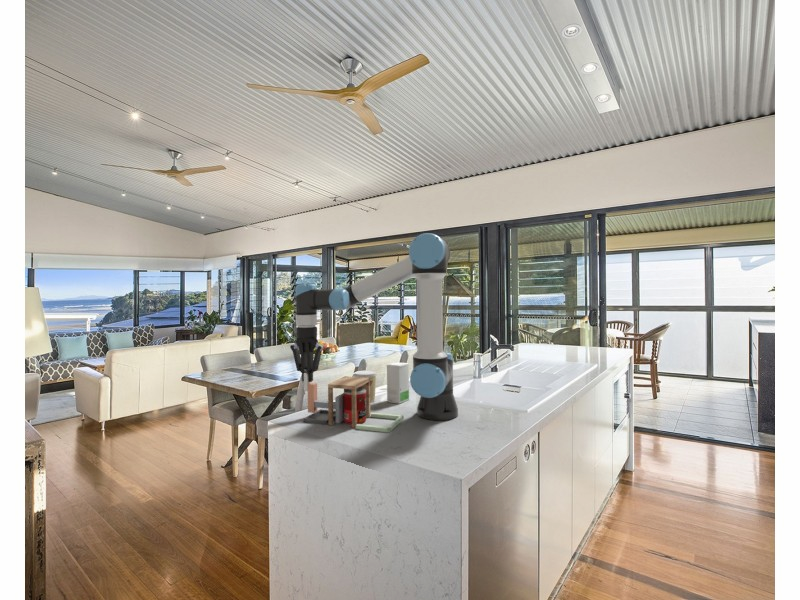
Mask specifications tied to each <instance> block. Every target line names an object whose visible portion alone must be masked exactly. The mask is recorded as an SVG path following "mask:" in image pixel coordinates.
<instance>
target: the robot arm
mask: <svg viewBox="0 0 800 600" xmlns="http://www.w3.org/2000/svg"><path fill="white" fill-rule="evenodd" d="M450 250H451V249H450V247H449V244H448V242H446V241H445V240H444V239H442V237H440V236H439V235H438V234H435V233H430V232H429V233H428V232H426V233H420V234H418V235H417V236H415V237H414V239H412V241H411V242H410V245H409V247H408V256H407V257H405V258H402V259H401V260H399V261H397V262H395V263H392V264H391V265H388V266H386V267H384V268H383V269H381V270H379V271H376V272H374V273H373V274H369V276H366V277H364V278H363V279H360V280H357V281H356V282H354V283H352V284H350V285H349V286H347V287H344V288H342V289H341V288H329V289H328V288H327V289H321V288H317V284H315V283H308V284H307V283H304V284H303V283H300V284H297V285H295V286H296V287H295V296H294V298H295V325H296V326H297V327H296V328H295V332H296V333H295V337H296V340H295V343H293V344H291V345H289V347H290V350H291V351H292V355H293V359H294V364H295V368H296V371H297V372H300V373H301V381H302V382H303V391H304V392H307V393H308V384H309V383H313V381H314V373H315V372H317V371H318V370H319V367H320V366H319V365H320V360H321V356H322V351H323V350H324V348H325V346H324V345H323V344H320V343H319V341H318V338H317V337H318V327H317V325H318V316H317V315H318V311H337V312H338V311H345V310H347V309H352V308H354V307H355V306H356V305H357V304H359V303H361V302H363V301H365V300H367V299H370V298H372V297H374V296H376V295H378V294H381V293H382V292H384V291H386V290H389V289H391V288H393V287H394V286H395V287H396V286H397V285H399V284H401V283H403V282H405V281H406V282H407V281H408V280H410V279H412V278H415V280H416V327H417V328H416V329H417V330H416V332H417V334H416V335H417V336H416V337H417V350H416V351H415V353H414V354H412V355H413V356H412V371H411V373H410V375H409V384H410V386H411V388H412V390H413V391H414V392H415V393H416V394H417V395H418V396H420V398H419V401H418V404H417V407H416V415H417V416H418V417H419V418H422V419H424V420H430V421H447V420H453V419H454V418H457V417H458V416H459V407H458V404H457V402H456V398H455V394H454V357H453V354H452V353H450V352H445V351H444V343H443V342H444V338H443V337H444V336H443V332H444V331H443V330H444V327H443V325H444V324H443V321H444V320H443V315H444V314H443V279H444V278H445V277H446V275H447V273H448V272H447V270H448V269H447V268H448V267H447V265H448V262H449V260H450V257H451V251H450ZM447 276H448V275H447Z"/></svg>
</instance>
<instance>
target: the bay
mask: <svg viewBox="0 0 800 600" xmlns="http://www.w3.org/2000/svg"><path fill="white" fill-rule="evenodd" d="M370 418H378V419H386V420H387V419H389V420H394V421H393V422H392V423H391V424H390V425H389V426H381V425H372V424H364V423H362V424H357V425H356V428H355V430H362V431H363V430H364V431H372V432H382V433H391V432H392V431H393V430H394V429H395V428H396V427H398V425H399V424H400V423H401V422H402V421H403V420H404V418H405V417H404V415H403V414H402V415H401V414H390V413H379V412H370Z"/></svg>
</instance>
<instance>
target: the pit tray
mask: <svg viewBox="0 0 800 600" xmlns="http://www.w3.org/2000/svg"><path fill="white" fill-rule="evenodd" d="M334 420H336V410H333V421H334ZM303 423H307V424H308V423H309V424H319V425H320V424H321V425H329V418H328V409H323V408H319V409H317V412H315V413H311V414H309V415H308V416H306V417H304V418H303Z"/></svg>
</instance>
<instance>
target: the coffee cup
mask: <svg viewBox="0 0 800 600" xmlns="http://www.w3.org/2000/svg"><path fill="white" fill-rule="evenodd" d="M353 377H364V378H370V404H372V403H374V402H375V400H376V387H377V373H376V371H374V370H368V369H367V370H366V369H365V370H358V371H355V372H354V373H353Z"/></svg>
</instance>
